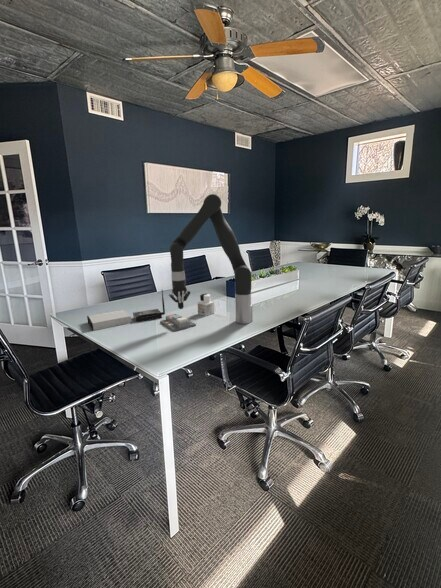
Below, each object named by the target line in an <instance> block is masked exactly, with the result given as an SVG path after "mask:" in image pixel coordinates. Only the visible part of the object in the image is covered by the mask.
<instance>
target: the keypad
mask: <svg viewBox="0 0 441 588" xmlns="http://www.w3.org/2000/svg"><path fill="white" fill-rule="evenodd" d="M171 315H178V314H177V313H173V314H169V315H165V319H163V320H160V321H159V322H160V324H162V325H163V326H165V327H166V328H168V329H169V330H170V331H173V332H177V331H181V330H186V329H189V328H193V327H196V326H197V324H196V323H195V322H193V321H191V320H189V319H187V322H184V323H178V322H177V320H176V321H175V320H173V319H172V318H170V317H168V316H171Z"/></svg>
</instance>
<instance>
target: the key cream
mask: <svg viewBox="0 0 441 588" xmlns="http://www.w3.org/2000/svg"><path fill="white" fill-rule="evenodd" d="M187 320H188V318H186V317H184V316H182V317H181V318H177V322H178V323H184V322H187Z"/></svg>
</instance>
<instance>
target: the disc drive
mask: <svg viewBox="0 0 441 588" xmlns="http://www.w3.org/2000/svg"><path fill="white" fill-rule="evenodd" d="M86 318H87V323H88V325H89V328H90V329H91V331H97V329H98V330H101V329H102V330H103V329H108V328H112V327H117V325H118V326H121V325H126V324H131V323H132V317H131V315H130V314H129V313H128V312H127V311H126V310H125V309H121V310H115V311H110V312H104V313H97V314H91V315H87V316H86Z"/></svg>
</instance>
